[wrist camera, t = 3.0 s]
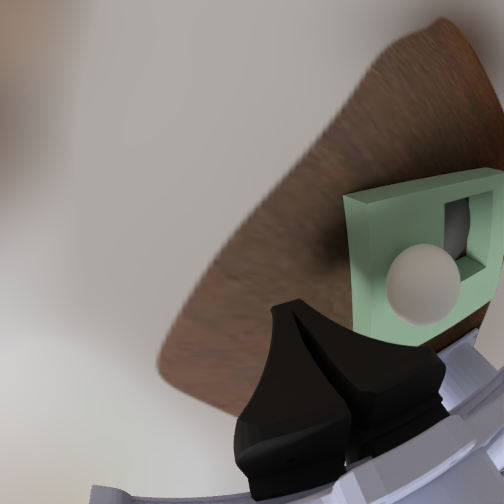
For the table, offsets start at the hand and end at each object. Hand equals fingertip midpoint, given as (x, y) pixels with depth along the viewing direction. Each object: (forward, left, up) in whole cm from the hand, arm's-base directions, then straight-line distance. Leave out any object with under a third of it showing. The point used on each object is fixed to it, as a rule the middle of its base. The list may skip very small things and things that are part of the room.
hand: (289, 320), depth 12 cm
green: (-1, -12, -3) cm, 13 cm away
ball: (0, -7, +1) cm, 7 cm away
